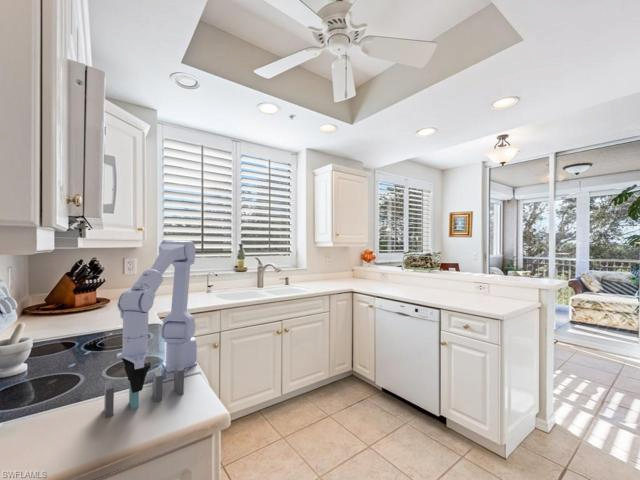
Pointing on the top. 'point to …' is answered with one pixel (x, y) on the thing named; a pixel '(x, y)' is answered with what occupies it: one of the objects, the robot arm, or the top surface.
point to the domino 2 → (133, 398)
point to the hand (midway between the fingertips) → (134, 385)
